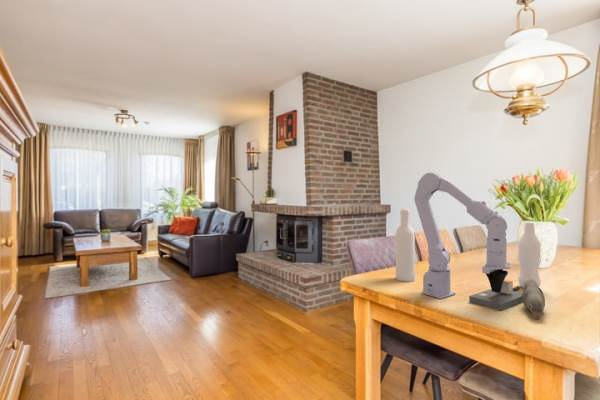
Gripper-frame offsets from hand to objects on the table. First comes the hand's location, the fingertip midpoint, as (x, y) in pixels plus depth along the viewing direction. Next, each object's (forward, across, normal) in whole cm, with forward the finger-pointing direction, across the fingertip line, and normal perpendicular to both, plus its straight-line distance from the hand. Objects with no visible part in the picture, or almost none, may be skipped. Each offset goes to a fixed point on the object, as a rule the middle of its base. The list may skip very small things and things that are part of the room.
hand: (496, 291), depth 108 cm
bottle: (+4, -1, +36) cm, 36 cm away
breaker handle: (+1, +6, 0) cm, 6 cm away
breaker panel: (+3, +1, 0) cm, 4 cm away
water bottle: (+3, +27, +1) cm, 28 cm away
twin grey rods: (+3, +16, 0) cm, 17 cm away
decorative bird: (+4, +1, -11) cm, 11 cm away
